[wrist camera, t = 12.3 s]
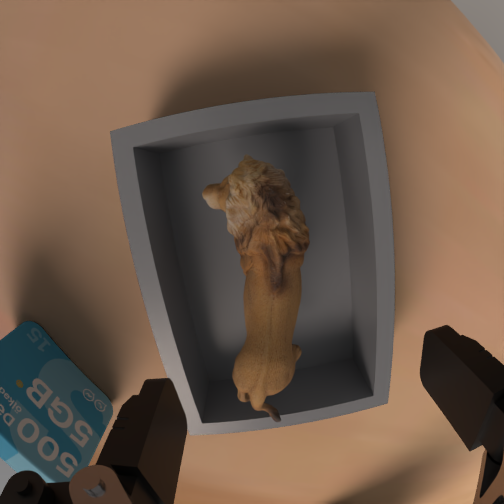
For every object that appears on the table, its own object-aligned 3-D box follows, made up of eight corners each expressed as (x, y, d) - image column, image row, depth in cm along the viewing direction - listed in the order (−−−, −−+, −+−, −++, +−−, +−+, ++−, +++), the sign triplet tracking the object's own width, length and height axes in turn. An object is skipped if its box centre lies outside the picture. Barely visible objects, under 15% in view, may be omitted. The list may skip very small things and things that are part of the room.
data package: (118, 405, 26) (75, 497, 14) (95, 419, 26) (53, 501, 15) (32, 314, 24) (-47, 379, 12) (16, 336, 24) (-54, 398, 12)
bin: (143, 141, 20) (110, 131, 15) (342, 111, 20) (374, 91, 14) (199, 387, 25) (190, 435, 19) (363, 361, 25) (387, 403, 19)
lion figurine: (221, 217, 23) (190, 150, 14) (294, 208, 23) (302, 136, 14) (241, 422, 19) (217, 477, 10) (319, 414, 19) (347, 464, 10)
